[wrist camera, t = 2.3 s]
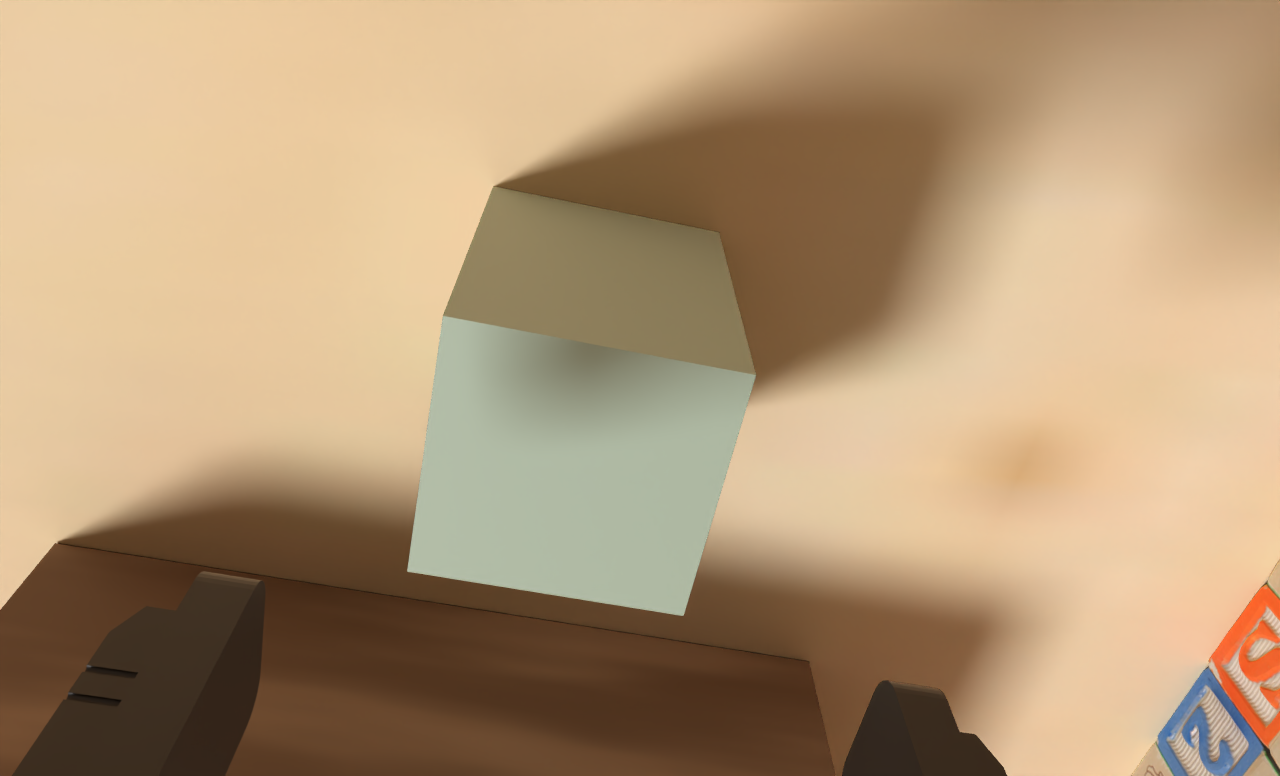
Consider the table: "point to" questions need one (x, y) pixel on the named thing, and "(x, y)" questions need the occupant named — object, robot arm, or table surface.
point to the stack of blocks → (1230, 703)
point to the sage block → (582, 405)
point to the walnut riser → (427, 684)
